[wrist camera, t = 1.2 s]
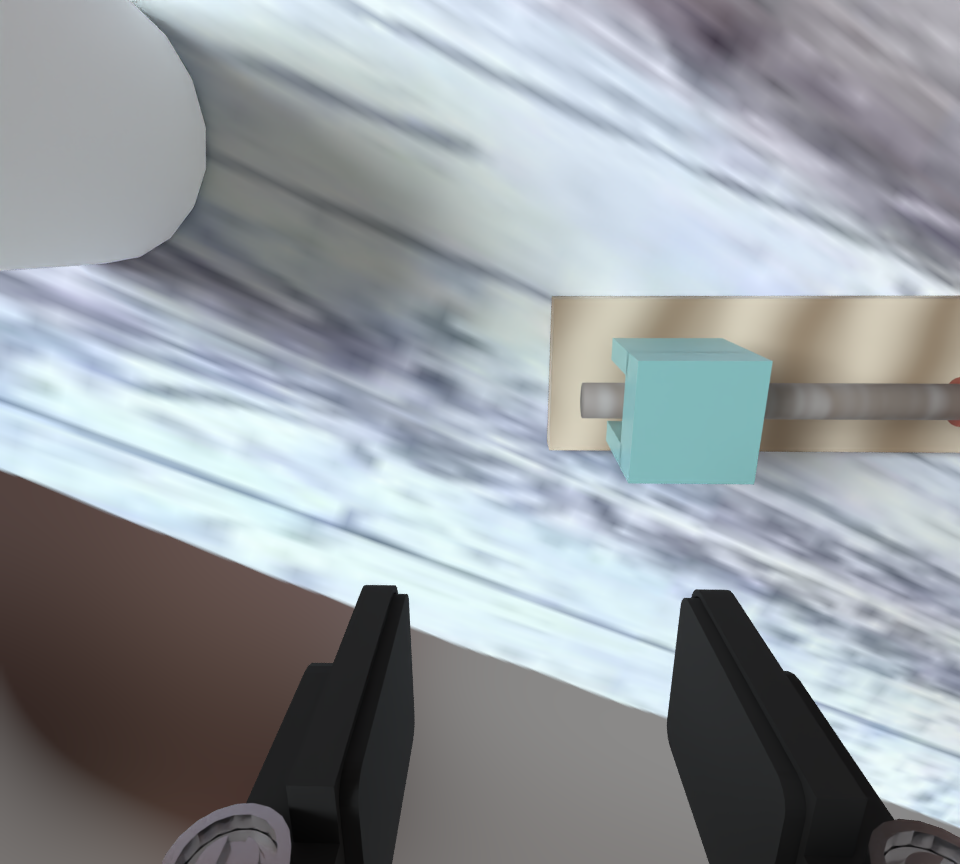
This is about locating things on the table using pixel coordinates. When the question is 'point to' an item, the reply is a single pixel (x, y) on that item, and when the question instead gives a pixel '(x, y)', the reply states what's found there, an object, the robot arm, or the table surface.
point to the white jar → (92, 134)
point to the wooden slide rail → (778, 366)
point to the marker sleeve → (689, 410)
